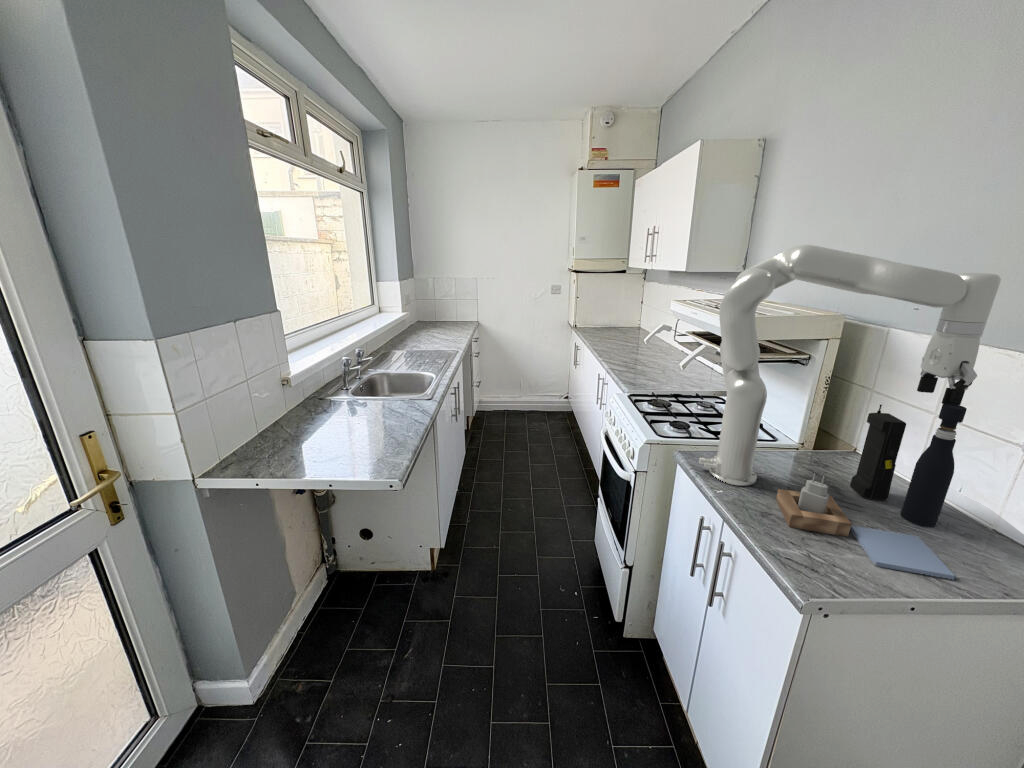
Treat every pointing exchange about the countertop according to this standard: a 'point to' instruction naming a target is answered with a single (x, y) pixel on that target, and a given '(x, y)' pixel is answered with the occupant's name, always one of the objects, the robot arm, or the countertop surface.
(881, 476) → the portable radio
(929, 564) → the blue square plate
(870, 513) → the countertop surface
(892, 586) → the countertop surface
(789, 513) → the walnut collar
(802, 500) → the power adapter
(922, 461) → the black water bottle
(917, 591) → the countertop surface
